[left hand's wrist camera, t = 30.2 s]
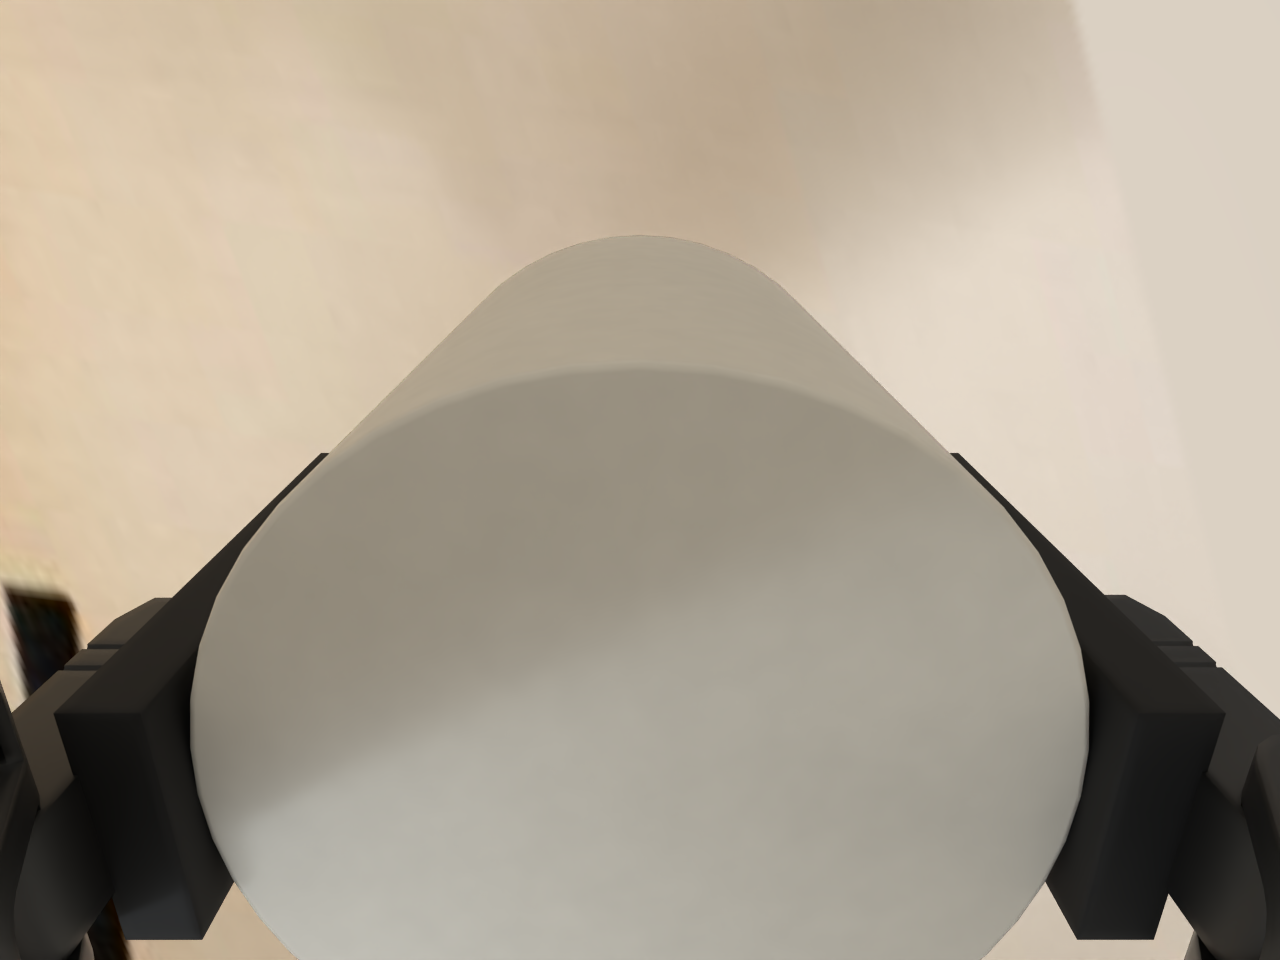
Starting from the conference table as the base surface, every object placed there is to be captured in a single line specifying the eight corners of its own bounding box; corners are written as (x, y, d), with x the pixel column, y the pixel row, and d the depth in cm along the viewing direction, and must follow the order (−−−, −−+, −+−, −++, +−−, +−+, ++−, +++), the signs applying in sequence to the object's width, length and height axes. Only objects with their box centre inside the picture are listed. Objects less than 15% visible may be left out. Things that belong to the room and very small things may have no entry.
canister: (604, 696, 19) (573, 1181, 10) (340, 414, 17) (-10, 728, 8) (928, 489, 17) (1241, 862, 8) (685, 134, 15) (757, 115, 6)
